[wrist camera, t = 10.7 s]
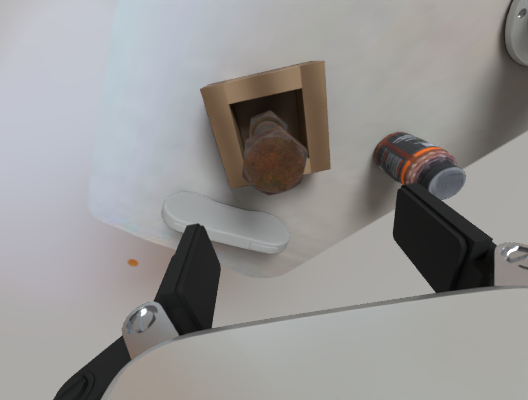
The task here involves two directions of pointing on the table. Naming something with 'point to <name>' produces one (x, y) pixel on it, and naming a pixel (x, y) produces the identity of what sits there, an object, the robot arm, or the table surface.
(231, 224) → the game controller
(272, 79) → the socket block
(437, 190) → the supplement bottle
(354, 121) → the table surface
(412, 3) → the table surface
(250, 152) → the bolt
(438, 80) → the table surface
